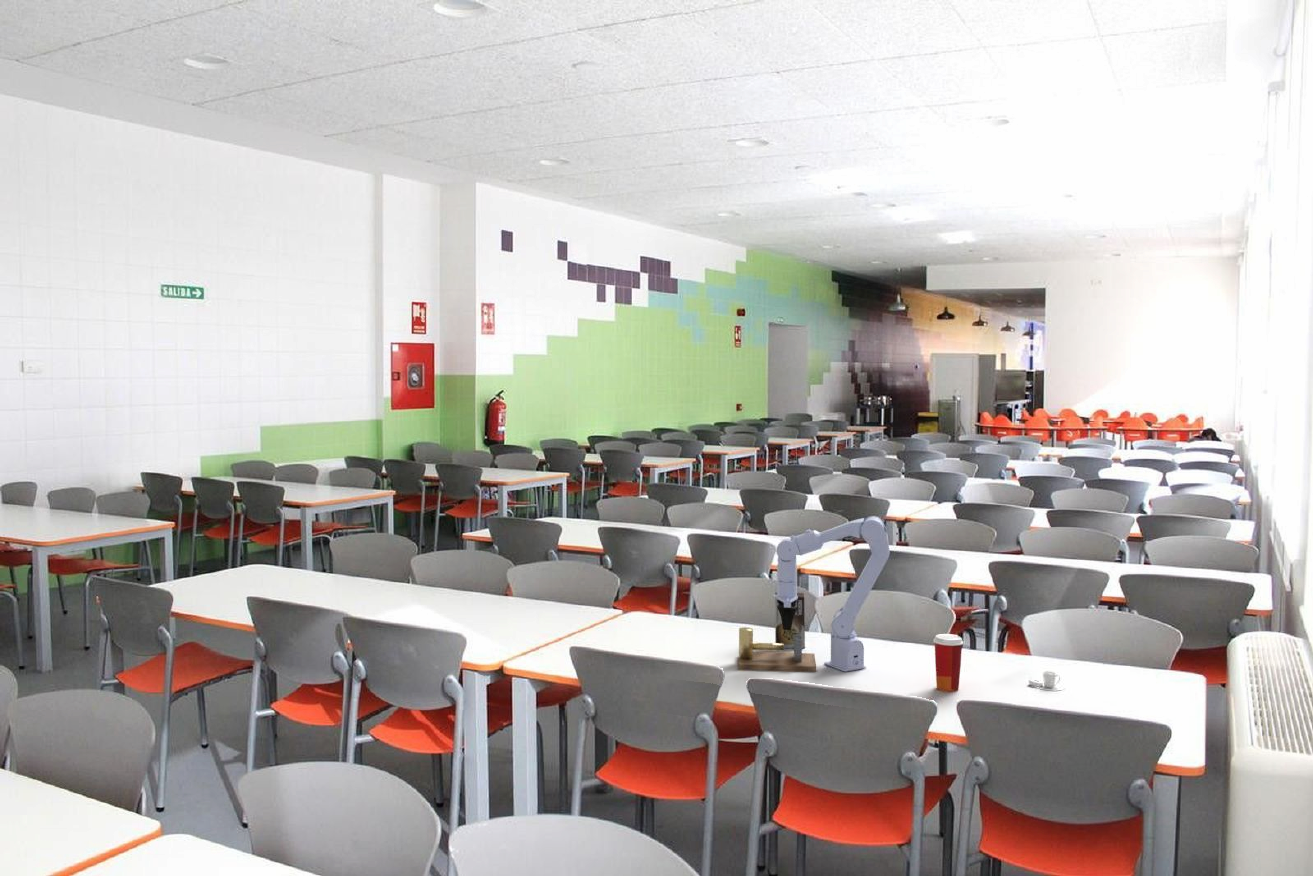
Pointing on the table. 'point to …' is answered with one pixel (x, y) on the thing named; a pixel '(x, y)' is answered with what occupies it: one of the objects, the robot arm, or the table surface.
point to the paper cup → (948, 661)
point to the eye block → (781, 660)
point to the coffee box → (797, 624)
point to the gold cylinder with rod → (753, 644)
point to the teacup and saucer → (1047, 681)
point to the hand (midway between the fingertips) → (786, 627)
